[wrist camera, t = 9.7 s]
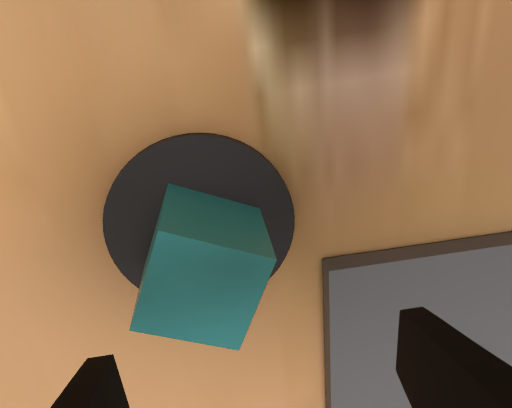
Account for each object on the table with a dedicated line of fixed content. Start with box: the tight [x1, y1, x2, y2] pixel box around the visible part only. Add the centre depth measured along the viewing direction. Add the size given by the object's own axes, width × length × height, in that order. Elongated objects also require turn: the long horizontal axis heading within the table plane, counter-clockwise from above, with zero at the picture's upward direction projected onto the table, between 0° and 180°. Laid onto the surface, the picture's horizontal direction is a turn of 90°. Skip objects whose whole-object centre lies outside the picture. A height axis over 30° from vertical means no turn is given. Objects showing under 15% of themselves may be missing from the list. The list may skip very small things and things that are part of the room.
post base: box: [322, 232, 512, 408], centre depth 22 cm, size 16×16×7 cm
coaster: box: [103, 133, 294, 288], centre depth 19 cm, size 9×9×1 cm
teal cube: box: [129, 183, 277, 350], centre depth 17 cm, size 4×4×5 cm
